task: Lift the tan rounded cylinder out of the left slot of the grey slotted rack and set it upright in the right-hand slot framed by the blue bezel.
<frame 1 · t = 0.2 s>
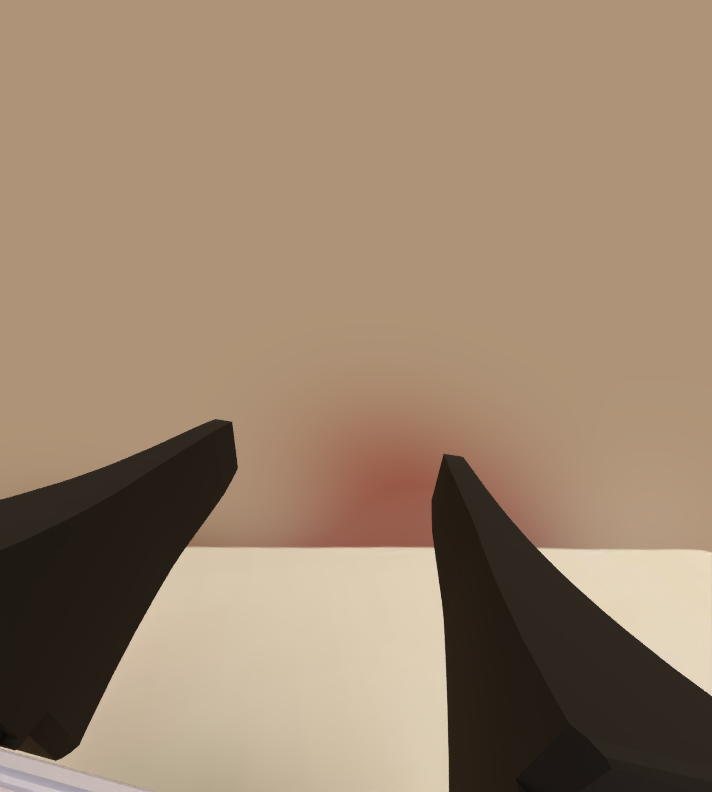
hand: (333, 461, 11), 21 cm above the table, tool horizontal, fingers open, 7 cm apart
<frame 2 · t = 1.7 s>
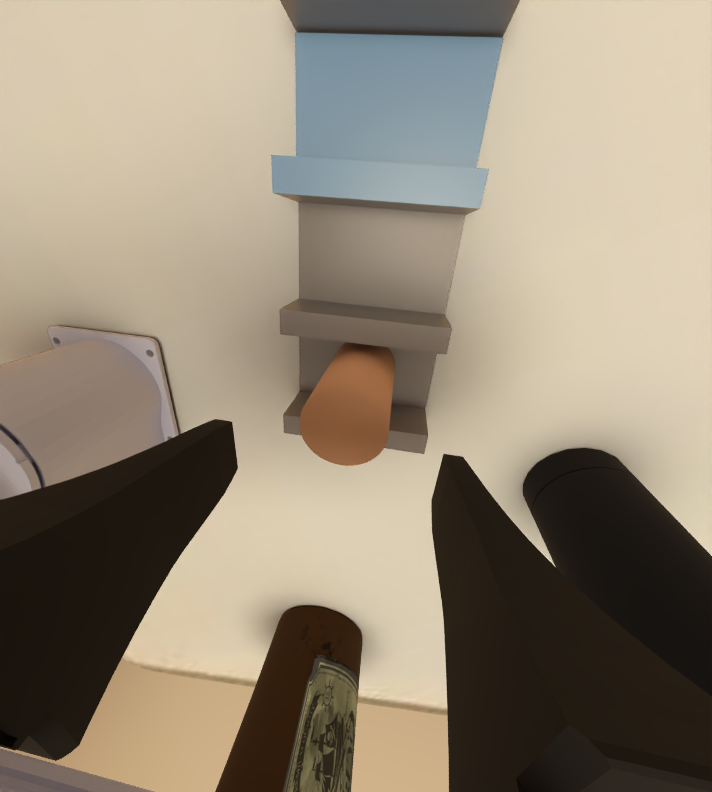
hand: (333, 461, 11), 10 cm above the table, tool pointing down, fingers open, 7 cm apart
grey slotted rack: (376, 259, 17), on the table
wine bottle: (571, 483, 21), on the table
tan rounded cylinder: (364, 366, 18), point 1 cm above the table, touching grey slotted rack
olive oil: (322, 628, 34), on the table
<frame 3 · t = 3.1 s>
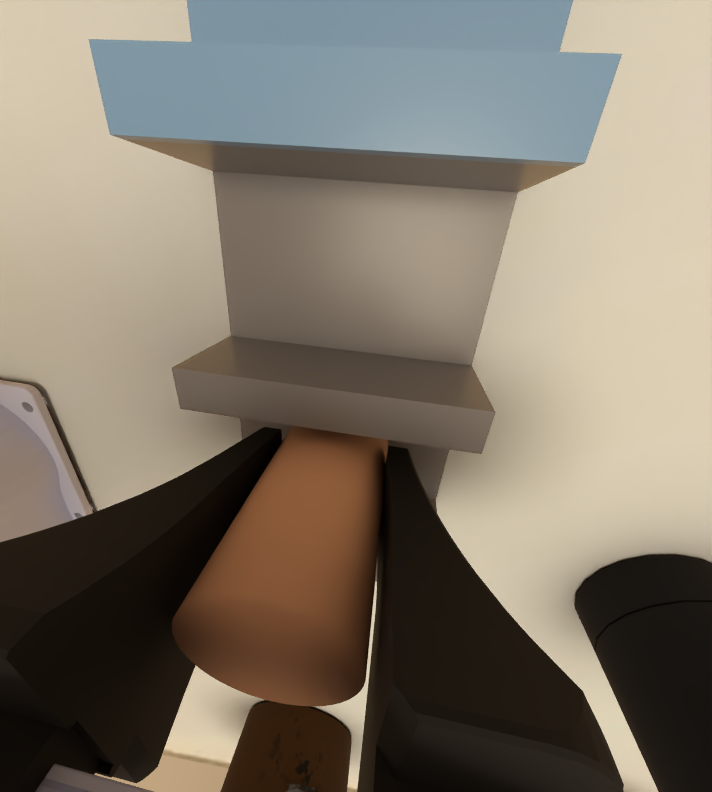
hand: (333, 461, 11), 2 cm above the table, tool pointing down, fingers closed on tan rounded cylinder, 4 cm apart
grey slotted rack: (356, 272, 10), on the table
wine bottle: (647, 595, 15), on the table
tan rounded cylinder: (340, 438, 12), point 1 cm above the table, touching grey slotted rack, gripper
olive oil: (301, 722, 28), on the table
when the fingers open (4 cm above the table, at t = 6.8 s): tan rounded cylinder drops 1 cm, resting on grey slotted rack.
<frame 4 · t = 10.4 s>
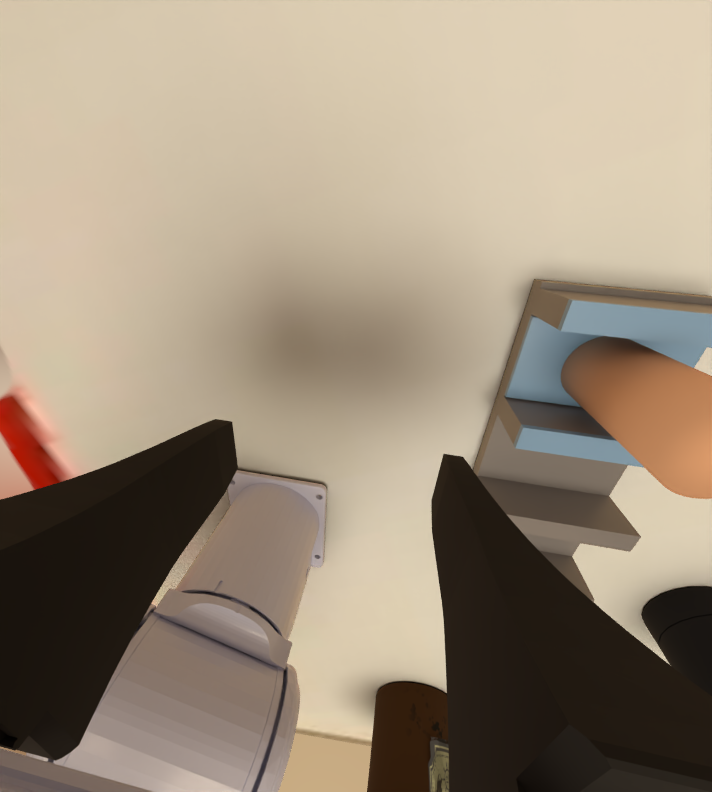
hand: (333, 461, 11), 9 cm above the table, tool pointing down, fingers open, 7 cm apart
grey slotted rack: (548, 447, 19), on the table
wine bottle: (688, 609, 24), on the table
tan rounded cylinder: (600, 370, 16), point 1 cm above the table, touching grey slotted rack
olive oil: (416, 698, 37), on the table
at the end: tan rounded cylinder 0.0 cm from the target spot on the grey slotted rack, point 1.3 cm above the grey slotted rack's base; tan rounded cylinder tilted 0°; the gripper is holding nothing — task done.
